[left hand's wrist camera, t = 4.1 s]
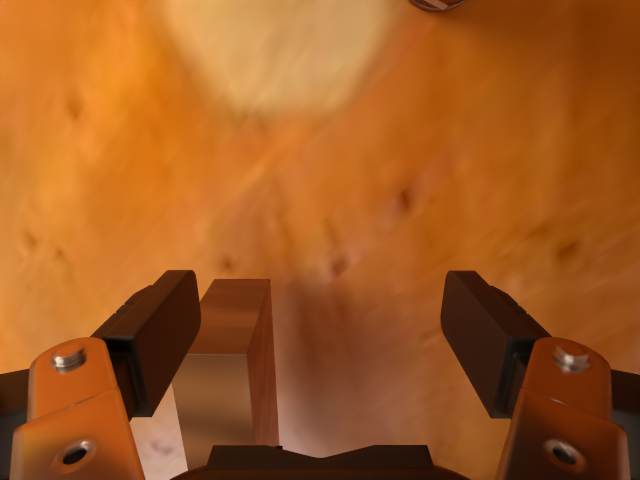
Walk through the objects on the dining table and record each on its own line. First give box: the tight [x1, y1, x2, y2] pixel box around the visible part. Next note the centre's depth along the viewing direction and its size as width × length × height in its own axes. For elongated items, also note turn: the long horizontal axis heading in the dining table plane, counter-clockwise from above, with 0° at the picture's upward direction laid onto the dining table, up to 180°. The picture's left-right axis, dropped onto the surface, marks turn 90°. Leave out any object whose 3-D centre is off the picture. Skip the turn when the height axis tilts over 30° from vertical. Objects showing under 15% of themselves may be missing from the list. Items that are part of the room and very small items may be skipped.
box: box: [172, 279, 279, 471], centre depth 35 cm, size 25×6×12 cm, turn 0°
